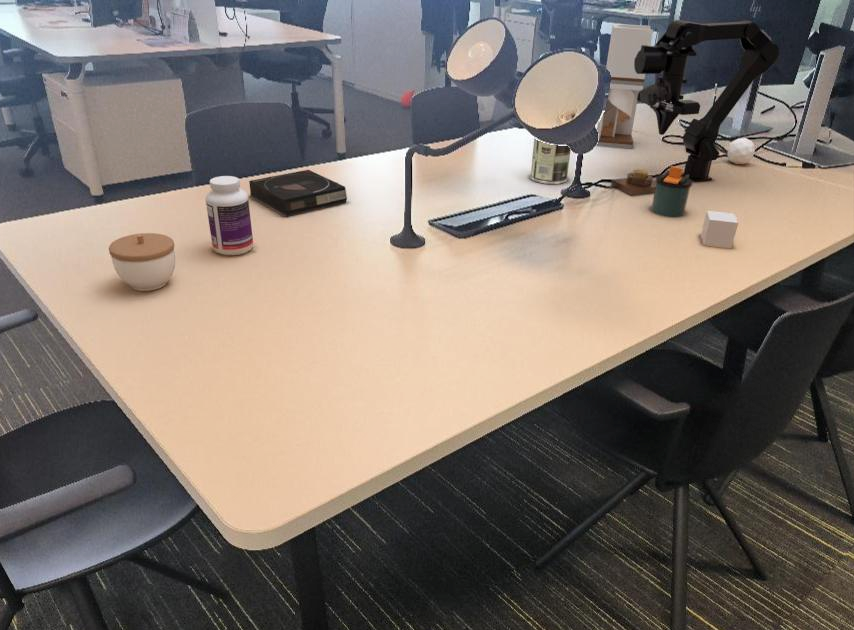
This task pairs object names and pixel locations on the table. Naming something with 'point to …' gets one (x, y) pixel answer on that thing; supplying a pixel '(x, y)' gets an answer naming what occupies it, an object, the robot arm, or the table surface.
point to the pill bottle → (229, 216)
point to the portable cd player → (297, 192)
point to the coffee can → (549, 163)
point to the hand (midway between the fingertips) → (661, 134)
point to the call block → (635, 185)
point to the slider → (674, 175)
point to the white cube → (719, 229)
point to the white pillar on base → (622, 85)
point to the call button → (640, 173)
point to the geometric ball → (741, 151)
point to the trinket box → (144, 260)
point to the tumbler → (671, 196)
